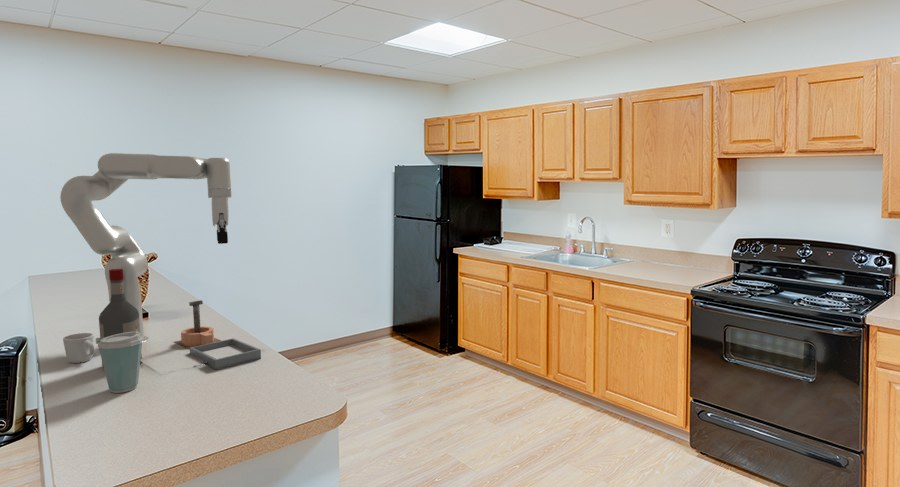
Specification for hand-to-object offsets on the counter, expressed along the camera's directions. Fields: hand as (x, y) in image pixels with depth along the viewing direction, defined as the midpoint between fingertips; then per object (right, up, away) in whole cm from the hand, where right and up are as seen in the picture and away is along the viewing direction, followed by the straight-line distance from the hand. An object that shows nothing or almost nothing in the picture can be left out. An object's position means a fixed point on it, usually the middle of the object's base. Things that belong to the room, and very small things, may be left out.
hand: (222, 242), depth 192 cm
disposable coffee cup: (-9, -40, -43) cm, 60 cm away
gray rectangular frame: (+8, -37, -17) cm, 42 cm away
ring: (-6, -35, -5) cm, 35 cm away
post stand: (-7, -36, -3) cm, 37 cm away
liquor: (-20, -38, -25) cm, 50 cm away
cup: (-35, -38, -20) cm, 56 cm away
